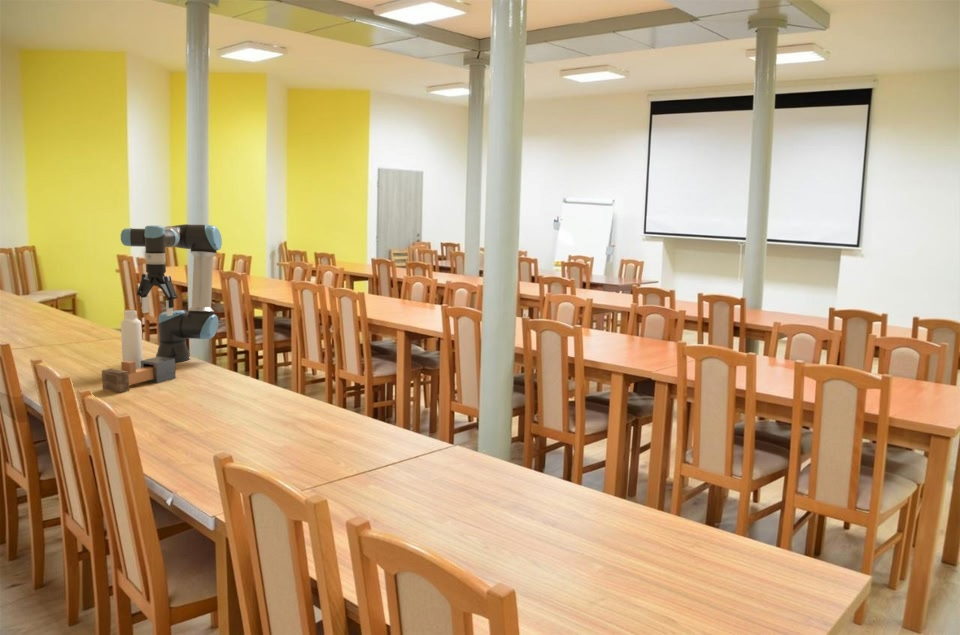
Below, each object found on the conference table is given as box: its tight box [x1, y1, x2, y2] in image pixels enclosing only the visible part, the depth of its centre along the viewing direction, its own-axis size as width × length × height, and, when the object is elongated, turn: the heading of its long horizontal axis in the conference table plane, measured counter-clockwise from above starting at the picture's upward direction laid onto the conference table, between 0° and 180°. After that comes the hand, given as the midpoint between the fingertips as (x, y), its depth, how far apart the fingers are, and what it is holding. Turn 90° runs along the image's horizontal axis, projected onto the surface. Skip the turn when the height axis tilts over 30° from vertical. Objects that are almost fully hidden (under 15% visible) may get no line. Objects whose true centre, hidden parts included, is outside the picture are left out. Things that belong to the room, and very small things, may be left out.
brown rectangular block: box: [101, 368, 130, 394], centre depth 302 cm, size 4×10×8 cm, turn 66°
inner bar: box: [120, 360, 154, 386], centre depth 309 cm, size 20×4×9 cm, turn 156°
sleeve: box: [141, 356, 177, 384], centre depth 321 cm, size 10×9×9 cm
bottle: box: [120, 309, 144, 369], centre depth 327 cm, size 8×8×28 cm
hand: (157, 314), depth 314 cm, fingers open, 13 cm apart
